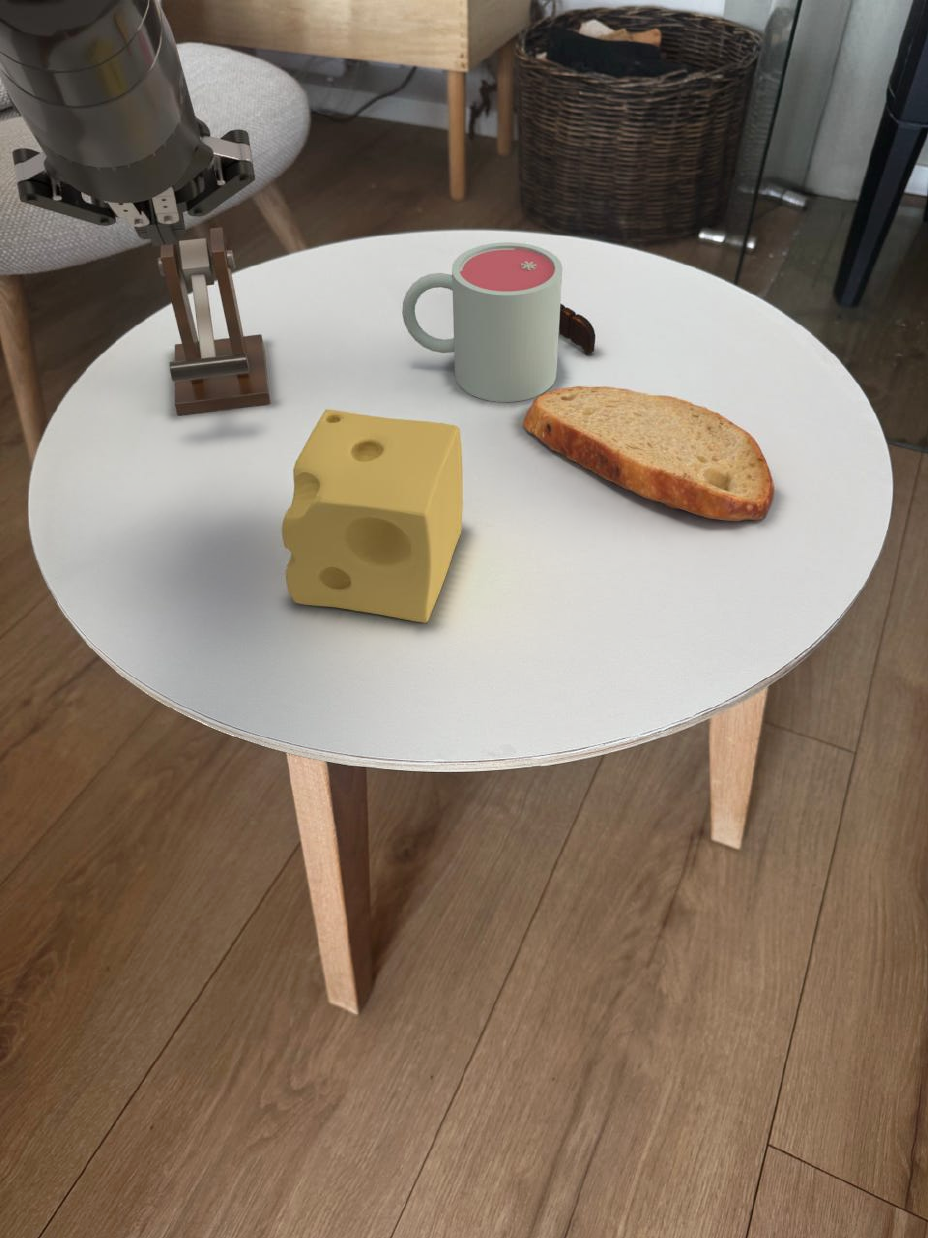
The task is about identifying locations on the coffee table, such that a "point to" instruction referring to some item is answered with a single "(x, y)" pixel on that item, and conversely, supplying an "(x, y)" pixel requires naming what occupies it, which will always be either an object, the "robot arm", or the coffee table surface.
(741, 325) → the coffee table surface
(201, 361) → the lever
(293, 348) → the coffee table surface
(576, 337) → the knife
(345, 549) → the cheese
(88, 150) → the robot arm
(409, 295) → the mug
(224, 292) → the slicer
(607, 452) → the slice of bread
